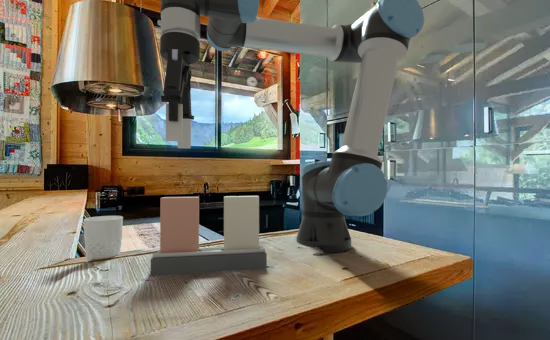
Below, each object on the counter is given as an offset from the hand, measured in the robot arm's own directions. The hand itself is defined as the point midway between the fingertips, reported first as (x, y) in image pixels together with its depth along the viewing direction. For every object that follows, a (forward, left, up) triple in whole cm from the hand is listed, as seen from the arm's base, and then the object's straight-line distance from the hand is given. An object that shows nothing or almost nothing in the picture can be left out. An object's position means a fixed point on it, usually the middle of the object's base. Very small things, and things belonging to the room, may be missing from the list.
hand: (179, 145), depth 58 cm
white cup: (+19, -14, -26) cm, 35 cm away
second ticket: (-12, 0, -24) cm, 27 cm away
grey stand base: (-6, 0, -26) cm, 27 cm away
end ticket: (0, 0, -24) cm, 24 cm away
